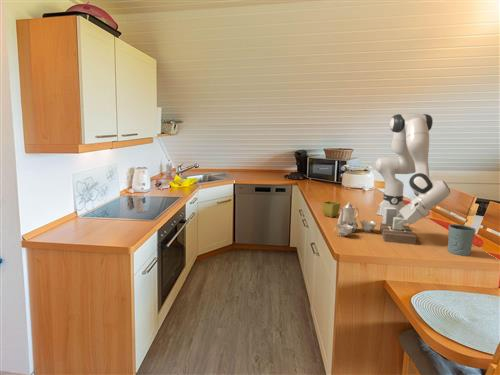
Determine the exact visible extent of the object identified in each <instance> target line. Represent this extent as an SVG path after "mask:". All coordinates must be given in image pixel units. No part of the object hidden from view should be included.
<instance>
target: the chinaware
mask: <svg viewBox="0 0 500 375" xmlns="http://www.w3.org/2000/svg"><path fill="white" fill-rule="evenodd" d="M355 209H356V214H354V213H355V212H354V211H355ZM339 211H340V213H339V216H338V219H337V225H336V227H335V228H334V229H333V233H334V234H335V235H338V236H341V235H342V236H341V237H343V236H349V235H350V234H353V233H355V232H356V230H357V229H358V227H359V225H358V223H357V218H358V216H359V211H360V210H359V208H358V207H355V206H353V204H351V201H348V202H347V204H345V205H343V206H342V207H340V208H339ZM359 223H360V224H361V225H360V226H361V228H362V230H363V231H364V233H371V232H372V231H373V230H375V228H376V226H377V224H378V223H377V222H375V221H374V220H373V221H372V220H370V221H368V220H362V221H359ZM335 230H337V232H335ZM352 232H353V233H352Z"/></svg>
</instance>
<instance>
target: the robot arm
mask: <svg viewBox="0 0 500 375" xmlns="http://www.w3.org/2000/svg"><path fill="white" fill-rule="evenodd" d="M432 127H433V117H432V116H431V114H428V113H427V114H426V113H423V114H422V113H412V112H411V113H402V114H399V113H398V114H394V115H393V116H392V117H391V119H390V122H389V129H390V130H391V131H392V132H393V135H392V138H391V139H392V140H391V145H390V149H391V151H392V152H393V153H395V154H396V155H398V156H384V157H383V156H382V157H378V158H377V160H376V161H375V164H374V168H375V170H376V172H377V173H379V174H380V176H382V178H383V180H384V193H383V197H382V198H383V199H382V201H381V202H380V203H378V209H377V211H376V215H378V216H382V217H383V209H384V207H394V208H396V209H397V216H396V217H399V218H402V219H403V220H402V221H401V222H398V223H397V225H398V226H399V227H400V226H402V225H407V224H408V225H413V224H415V223H416V222H418V221H419V220H421V219H422V218H423V217H424V218H425V217H427V216H428V215H429V212H430V211H431V210H432V209H433V208H434V207H435V206H437V205H439V204H440V203H441V202H443V201H445V199H446V198H448V197H449V196H450V194H451V190H450V187H449V186H448V184H447V183H446V182H445V181H444V180H442V179H436V178H433V177H431V176H430V171H429V151H430V133H429V132H430V130H431V129H432ZM411 174H412V176H411V177H410V178H409V181H408V182H409V183H408V184H409V187H410V188H411V190H412V191H413V194H414V195H415V196H416V197H414V198H413V199H412V200H410V201H409V203H408V204H405V203H404V186H405V185H404V182H403V181H402V180H401V179H398V178H396V175H411Z"/></svg>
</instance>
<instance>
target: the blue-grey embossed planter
mask: <svg viewBox="0 0 500 375" xmlns="http://www.w3.org/2000/svg"><path fill="white" fill-rule="evenodd" d="M475 234H476V228H475V227H472V226H468V225H464V224H456V223H455V224H453V223H452V224H449V225H448V243H447V252H448V253H449V254H453V255H455V256H459V255H460V256H461V257H468V256H470V255H471V251H472V246H473V243H474V242H473V241H474V237H475Z"/></svg>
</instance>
